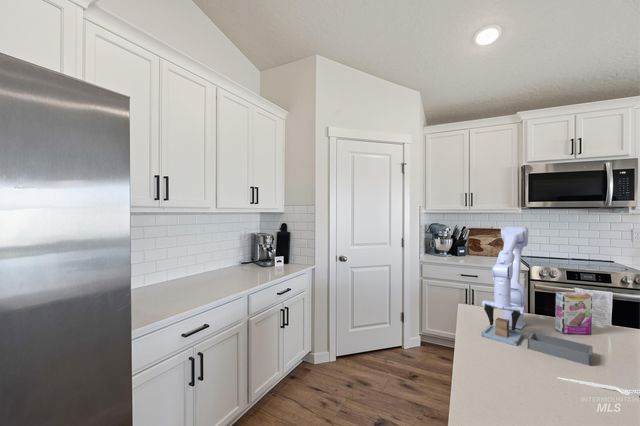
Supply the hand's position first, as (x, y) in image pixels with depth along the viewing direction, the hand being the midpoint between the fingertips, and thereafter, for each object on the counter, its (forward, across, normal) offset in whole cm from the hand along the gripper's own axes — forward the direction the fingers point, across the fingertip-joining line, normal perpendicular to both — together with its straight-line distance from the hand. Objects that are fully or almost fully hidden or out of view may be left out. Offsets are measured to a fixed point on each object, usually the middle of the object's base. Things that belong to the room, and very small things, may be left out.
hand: (502, 327), depth 118 cm
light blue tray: (+4, 0, 0) cm, 4 cm away
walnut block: (+3, 0, 0) cm, 3 cm away
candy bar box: (+4, +20, +25) cm, 32 cm away
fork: (+4, +29, -19) cm, 35 cm away
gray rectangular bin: (+4, +18, -1) cm, 18 cm away
